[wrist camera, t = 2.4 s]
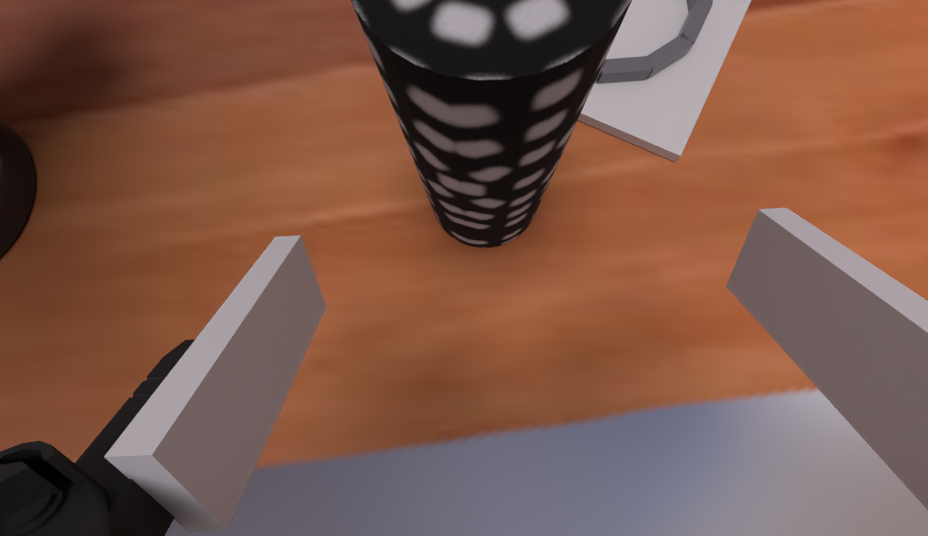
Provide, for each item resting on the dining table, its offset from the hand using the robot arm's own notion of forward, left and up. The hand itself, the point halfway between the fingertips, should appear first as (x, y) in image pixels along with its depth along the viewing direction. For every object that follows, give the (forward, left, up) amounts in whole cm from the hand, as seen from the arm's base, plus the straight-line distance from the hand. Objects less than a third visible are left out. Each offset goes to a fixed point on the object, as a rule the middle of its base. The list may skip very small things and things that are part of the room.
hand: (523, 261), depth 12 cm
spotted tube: (-5, +7, -18) cm, 20 cm away
